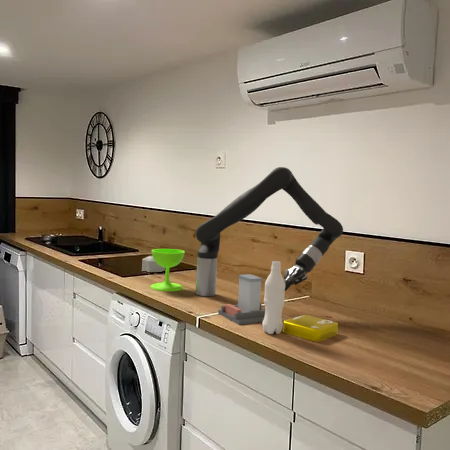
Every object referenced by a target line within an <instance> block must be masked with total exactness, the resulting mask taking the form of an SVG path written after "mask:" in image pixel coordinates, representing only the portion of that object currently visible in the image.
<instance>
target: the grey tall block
mask: <svg viewBox="0 0 450 450" xmlns="http://www.w3.org/2000/svg"><path fill="white" fill-rule="evenodd" d="M238 280H239V281H238V297H237V298H238V299H237V305H238V308H239V309H241V310H242V312H250V311H260V303H261V293H262V292H261V291H262V282H263V278H262V277H260V276H256V275H253V274H251V273H249V274H248V273H247V274H238Z"/></svg>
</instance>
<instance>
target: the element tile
mask: <svg viewBox="0 0 450 450" xmlns="http://www.w3.org/2000/svg"><path fill="white" fill-rule="evenodd" d="M282 322H283V328H282V332H283V333H284V334H286V335H291V336H295V337H297V338H301V339H304V340H308V341H311V342H322V341H324V340H325V341H326V340H327V339H330V338H332V337H335V336H337V335H339V334H338V333H339V331H338V330H339V323H338V322H336V321H332V320H328V319H325V318H320V317H318V316H317V317H316V316H313V315H309V314H302V315H299V316H296V317H292V318H289V319H285V320H283V321H282Z"/></svg>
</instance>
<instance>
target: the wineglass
mask: <svg viewBox="0 0 450 450" xmlns="http://www.w3.org/2000/svg"><path fill="white" fill-rule="evenodd" d="M185 253H186V251H185V250H182V249H176V248H154V249H151V256H153V259H154V260H155V262H156V263H157V264H159V265H160V266H162V267H165V273H164V274H165V275H164V276H165V277H164V281H163V282H155V283H153V284H151V285H150V286H149V288H150V287H151V288H152V289H151V288H150V289H151V290H153V289H155V290H154V291H157V290H158V292H178V291H183V289H184V287H183V285H181V284H179V283H176V282H170V268H173V267H177V266H178V265H180V263H181V262H182V261H183V259H184V257H185Z"/></svg>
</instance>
